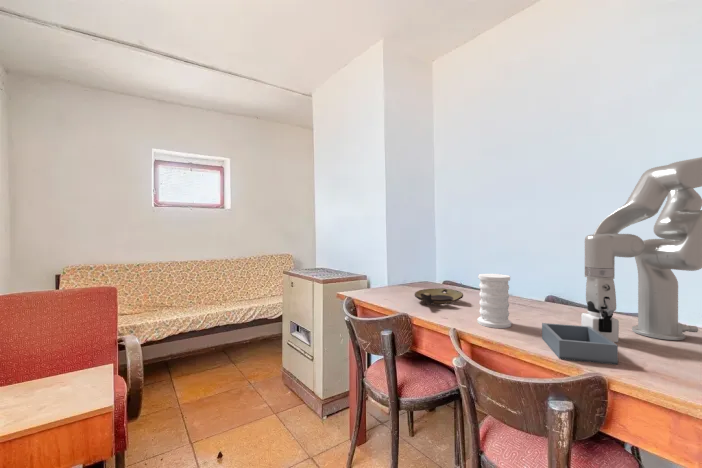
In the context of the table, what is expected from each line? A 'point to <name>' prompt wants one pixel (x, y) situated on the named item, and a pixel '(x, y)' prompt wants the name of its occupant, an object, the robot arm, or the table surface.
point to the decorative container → (494, 301)
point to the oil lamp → (438, 296)
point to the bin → (579, 343)
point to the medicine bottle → (593, 322)
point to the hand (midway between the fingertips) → (599, 327)
